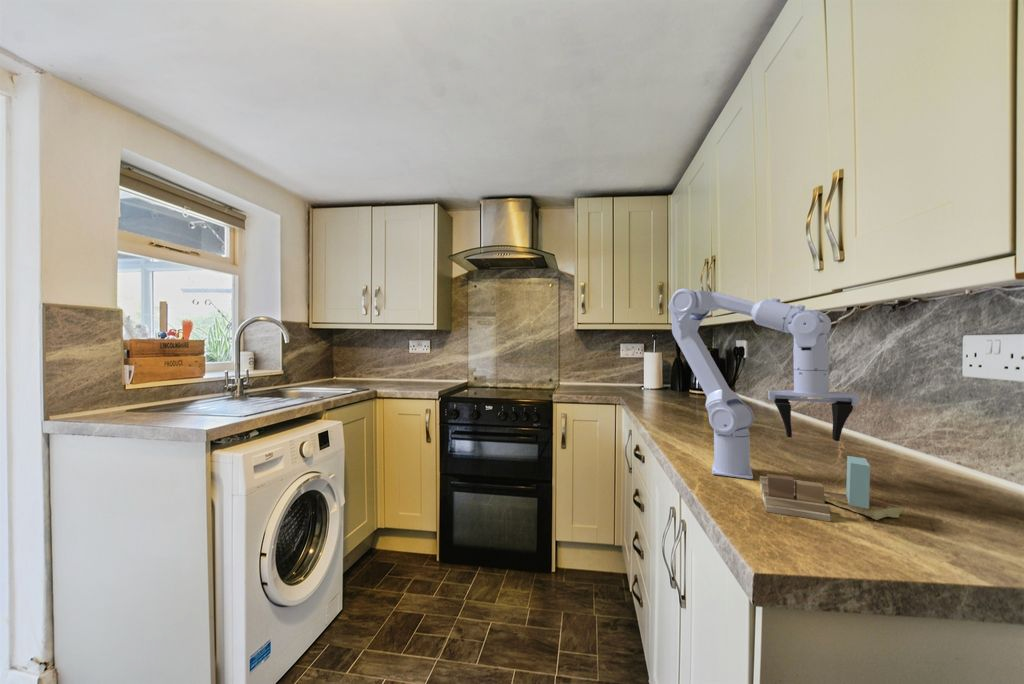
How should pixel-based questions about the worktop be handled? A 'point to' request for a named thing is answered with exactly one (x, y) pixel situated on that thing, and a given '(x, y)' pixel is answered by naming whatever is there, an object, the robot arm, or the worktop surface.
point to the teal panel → (858, 482)
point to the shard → (874, 511)
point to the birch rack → (793, 505)
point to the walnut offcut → (780, 486)
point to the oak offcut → (809, 492)
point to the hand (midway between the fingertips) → (812, 438)
